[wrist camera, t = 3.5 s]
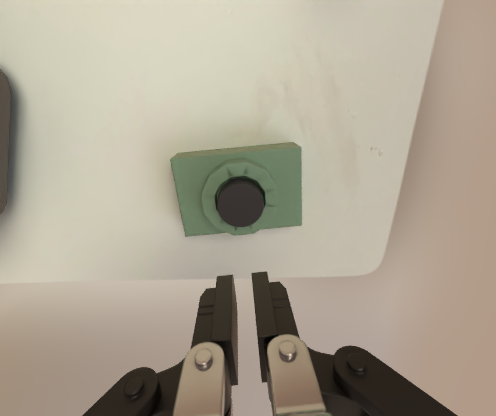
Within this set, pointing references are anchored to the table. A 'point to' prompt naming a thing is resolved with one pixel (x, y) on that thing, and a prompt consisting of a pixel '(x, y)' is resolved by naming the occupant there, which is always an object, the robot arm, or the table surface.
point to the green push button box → (233, 167)
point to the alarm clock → (4, 137)
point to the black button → (240, 203)
